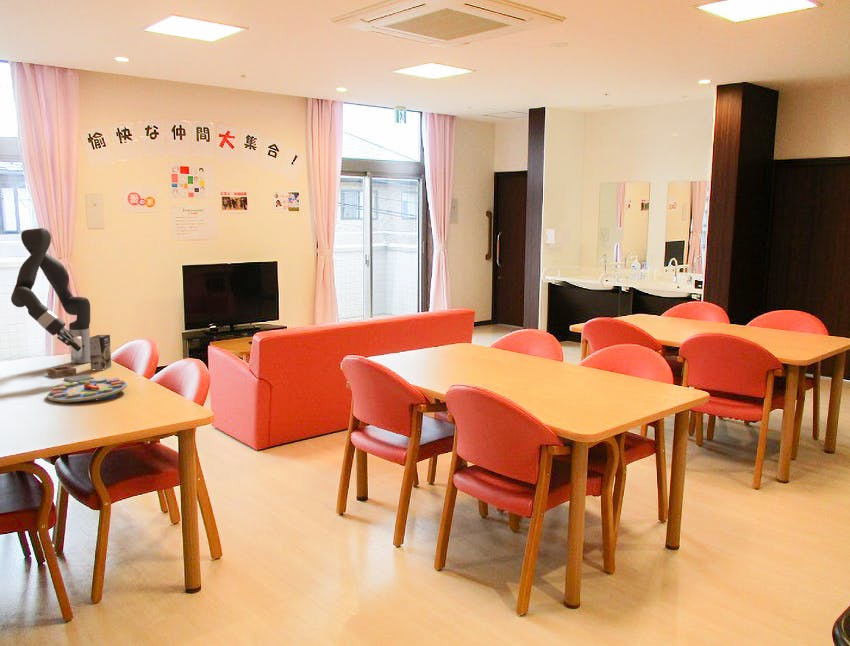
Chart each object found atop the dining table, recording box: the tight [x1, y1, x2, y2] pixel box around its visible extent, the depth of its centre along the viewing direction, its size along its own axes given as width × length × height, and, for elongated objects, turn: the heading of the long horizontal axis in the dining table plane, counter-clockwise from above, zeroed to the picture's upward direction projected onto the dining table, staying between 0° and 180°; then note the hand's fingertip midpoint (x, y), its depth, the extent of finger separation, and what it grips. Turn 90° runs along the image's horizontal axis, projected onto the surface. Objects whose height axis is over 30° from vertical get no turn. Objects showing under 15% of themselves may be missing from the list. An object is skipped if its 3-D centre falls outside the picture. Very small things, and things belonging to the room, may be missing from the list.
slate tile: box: [63, 374, 95, 383], centre depth 328 cm, size 9×9×1 cm
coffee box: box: [89, 334, 112, 371], centre depth 351 cm, size 9×6×16 cm
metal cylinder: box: [70, 336, 83, 360], centre depth 326 cm, size 4×4×10 cm
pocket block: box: [46, 365, 77, 378], centre depth 338 cm, size 9×9×3 cm
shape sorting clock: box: [46, 377, 128, 404], centre depth 301 cm, size 31×30×6 cm
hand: (81, 348), depth 326 cm, fingers closed on metal cylinder, 4 cm apart
